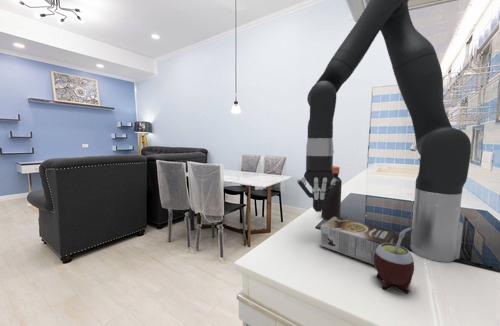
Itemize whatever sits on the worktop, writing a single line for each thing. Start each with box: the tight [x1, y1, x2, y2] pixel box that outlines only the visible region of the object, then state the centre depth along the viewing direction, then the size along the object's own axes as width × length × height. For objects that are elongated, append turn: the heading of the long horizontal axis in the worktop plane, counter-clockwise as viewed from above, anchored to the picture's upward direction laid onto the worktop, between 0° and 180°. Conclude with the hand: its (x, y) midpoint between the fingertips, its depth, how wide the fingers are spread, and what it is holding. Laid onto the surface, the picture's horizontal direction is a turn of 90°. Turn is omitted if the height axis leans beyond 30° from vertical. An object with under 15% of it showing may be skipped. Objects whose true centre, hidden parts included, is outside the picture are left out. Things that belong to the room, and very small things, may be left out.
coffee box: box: [319, 217, 396, 266], centre depth 59 cm, size 9×6×16 cm
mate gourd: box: [374, 226, 415, 295], centre depth 45 cm, size 8×8×15 cm
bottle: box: [320, 165, 343, 221], centre depth 83 cm, size 7×7×20 cm
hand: (317, 210), depth 66 cm, fingers closed
